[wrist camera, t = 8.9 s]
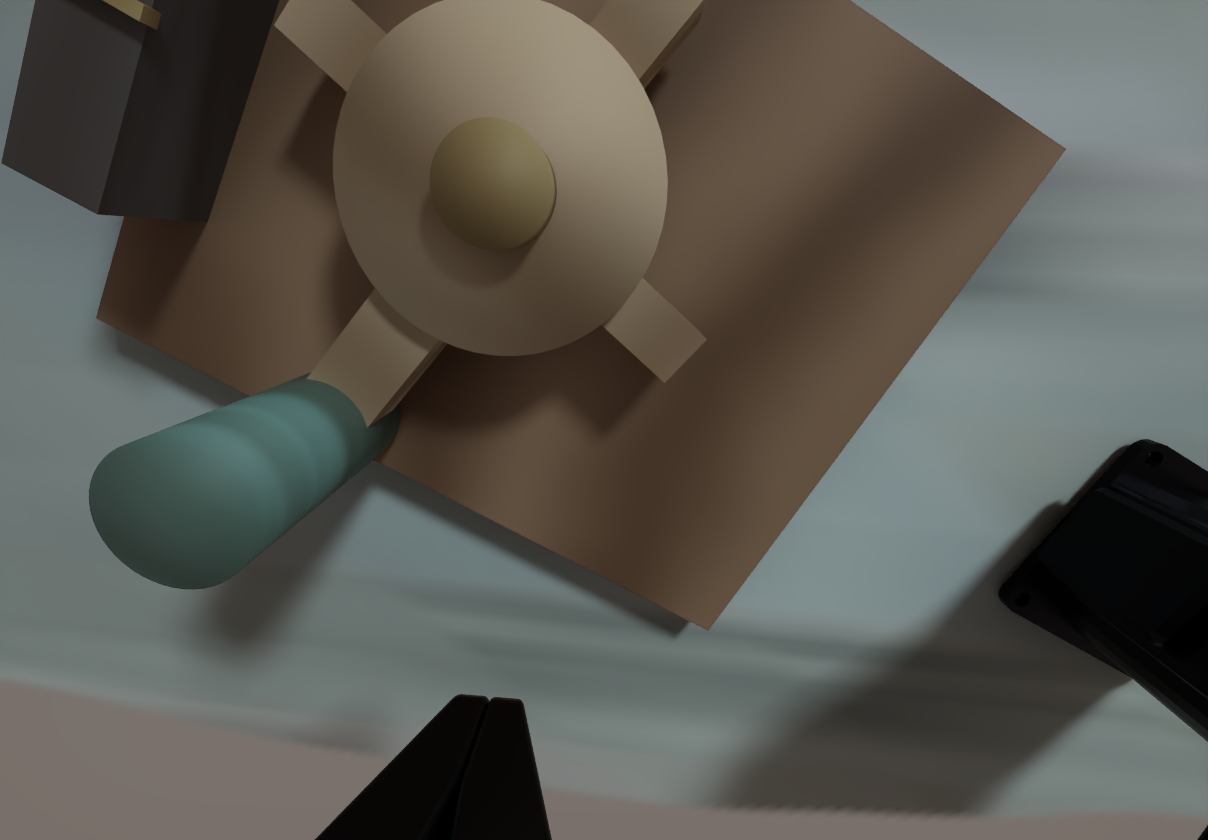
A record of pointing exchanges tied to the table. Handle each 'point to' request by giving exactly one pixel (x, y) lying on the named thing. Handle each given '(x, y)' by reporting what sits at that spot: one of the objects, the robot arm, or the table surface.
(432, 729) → the robot arm
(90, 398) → the table surface
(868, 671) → the table surface
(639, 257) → the capstan
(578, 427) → the stand
